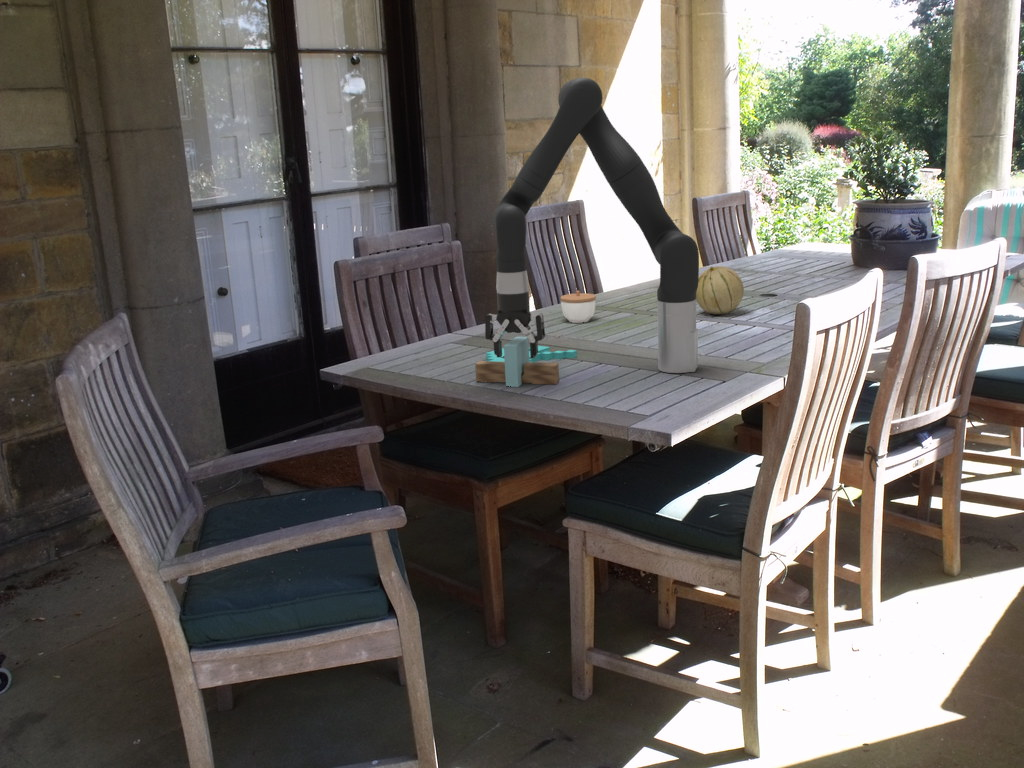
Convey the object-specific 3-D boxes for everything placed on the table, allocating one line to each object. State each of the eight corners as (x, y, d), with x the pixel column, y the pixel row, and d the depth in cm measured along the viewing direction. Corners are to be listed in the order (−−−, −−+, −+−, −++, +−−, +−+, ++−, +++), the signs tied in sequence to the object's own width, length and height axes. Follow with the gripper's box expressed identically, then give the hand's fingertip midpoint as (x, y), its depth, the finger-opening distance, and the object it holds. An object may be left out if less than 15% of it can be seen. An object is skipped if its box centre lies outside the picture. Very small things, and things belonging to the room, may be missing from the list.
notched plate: (530, 376, 249) (528, 336, 246) (518, 387, 240) (515, 345, 237) (518, 376, 250) (516, 336, 247) (506, 386, 241) (503, 345, 238)
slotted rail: (559, 381, 243) (558, 362, 242) (555, 384, 240) (555, 366, 239) (480, 378, 249) (479, 361, 248) (476, 382, 246) (475, 364, 245)
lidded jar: (602, 321, 310) (602, 291, 308) (572, 326, 306) (570, 295, 303) (585, 316, 320) (584, 286, 317) (555, 320, 315) (554, 290, 313)
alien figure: (577, 358, 267) (517, 350, 279) (576, 350, 266) (517, 343, 279) (529, 375, 252) (469, 366, 264) (529, 367, 251) (469, 358, 264)
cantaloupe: (752, 312, 312) (753, 263, 308) (726, 320, 302) (727, 270, 298) (711, 307, 322) (711, 260, 318) (685, 315, 312) (684, 267, 308)
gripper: (546, 287, 240) (549, 354, 244) (489, 287, 245) (493, 352, 249) (537, 292, 233) (540, 361, 238) (478, 292, 238) (483, 360, 242)
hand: (516, 357), depth 243 cm, fingers open, 8 cm apart
